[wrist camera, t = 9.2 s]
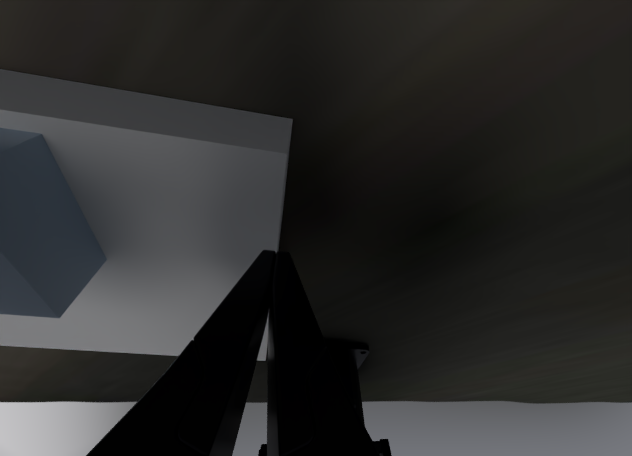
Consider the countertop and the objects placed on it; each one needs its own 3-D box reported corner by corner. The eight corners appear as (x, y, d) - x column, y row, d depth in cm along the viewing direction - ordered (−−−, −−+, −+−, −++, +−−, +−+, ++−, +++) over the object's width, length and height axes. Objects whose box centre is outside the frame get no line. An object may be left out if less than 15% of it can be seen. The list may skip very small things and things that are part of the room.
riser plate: (271, 317, 19) (265, 360, 16) (39, 299, 17) (-4, 345, 14) (292, 119, 10) (286, 153, 7) (-200, 34, 8) (-411, 45, 6)
